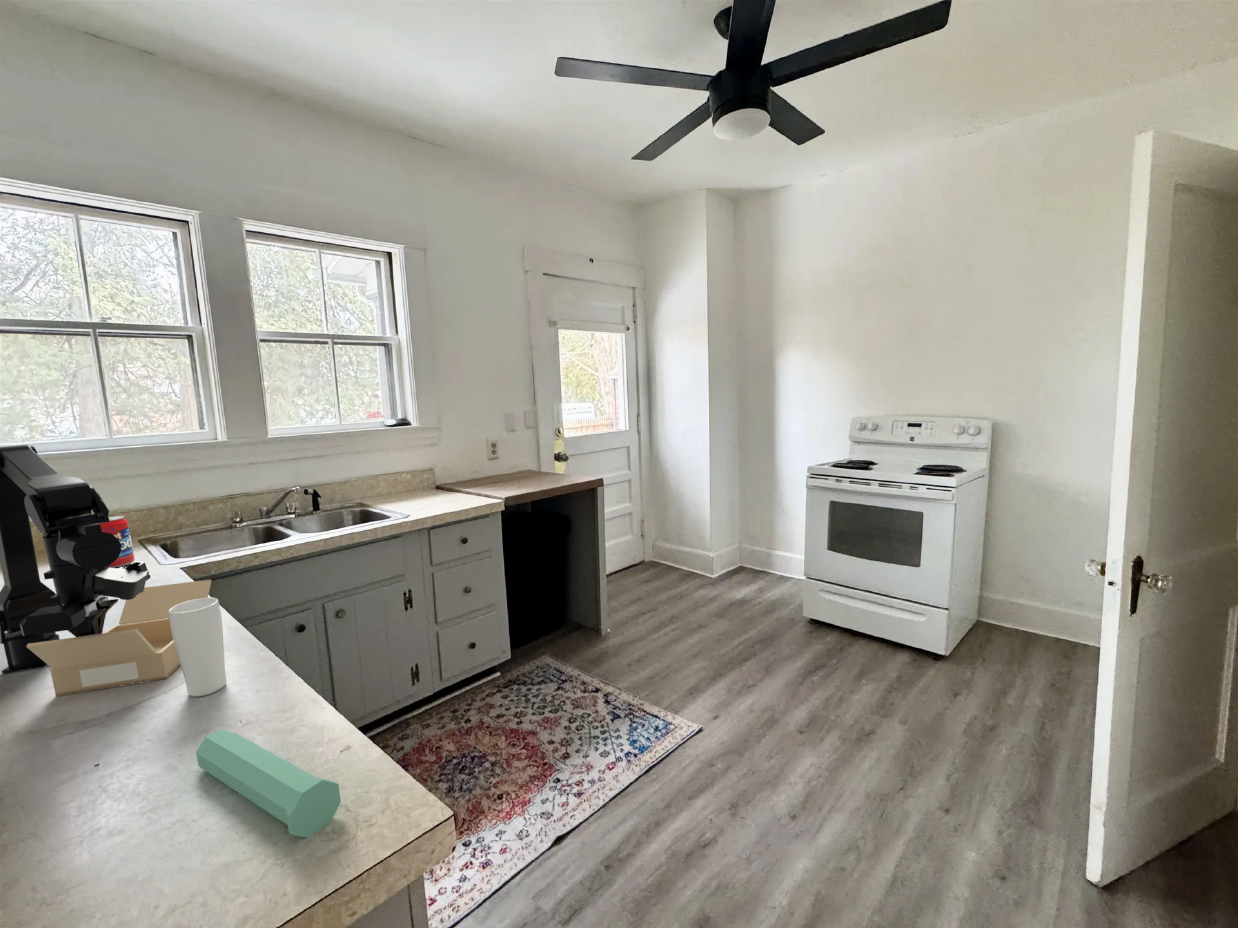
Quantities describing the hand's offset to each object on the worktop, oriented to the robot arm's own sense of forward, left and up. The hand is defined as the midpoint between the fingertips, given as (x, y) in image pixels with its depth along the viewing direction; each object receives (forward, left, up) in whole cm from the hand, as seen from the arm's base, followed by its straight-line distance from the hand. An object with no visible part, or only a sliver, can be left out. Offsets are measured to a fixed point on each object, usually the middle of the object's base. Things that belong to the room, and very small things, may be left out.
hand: (95, 648), depth 92 cm
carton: (0, +11, -8) cm, 14 cm away
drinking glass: (+17, -5, -9) cm, 20 cm away
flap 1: (0, 0, 0) cm, 0 cm away
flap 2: (0, +23, 0) cm, 23 cm away
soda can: (-44, +92, -9) cm, 103 cm away
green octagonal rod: (+35, -36, -9) cm, 50 cm away
